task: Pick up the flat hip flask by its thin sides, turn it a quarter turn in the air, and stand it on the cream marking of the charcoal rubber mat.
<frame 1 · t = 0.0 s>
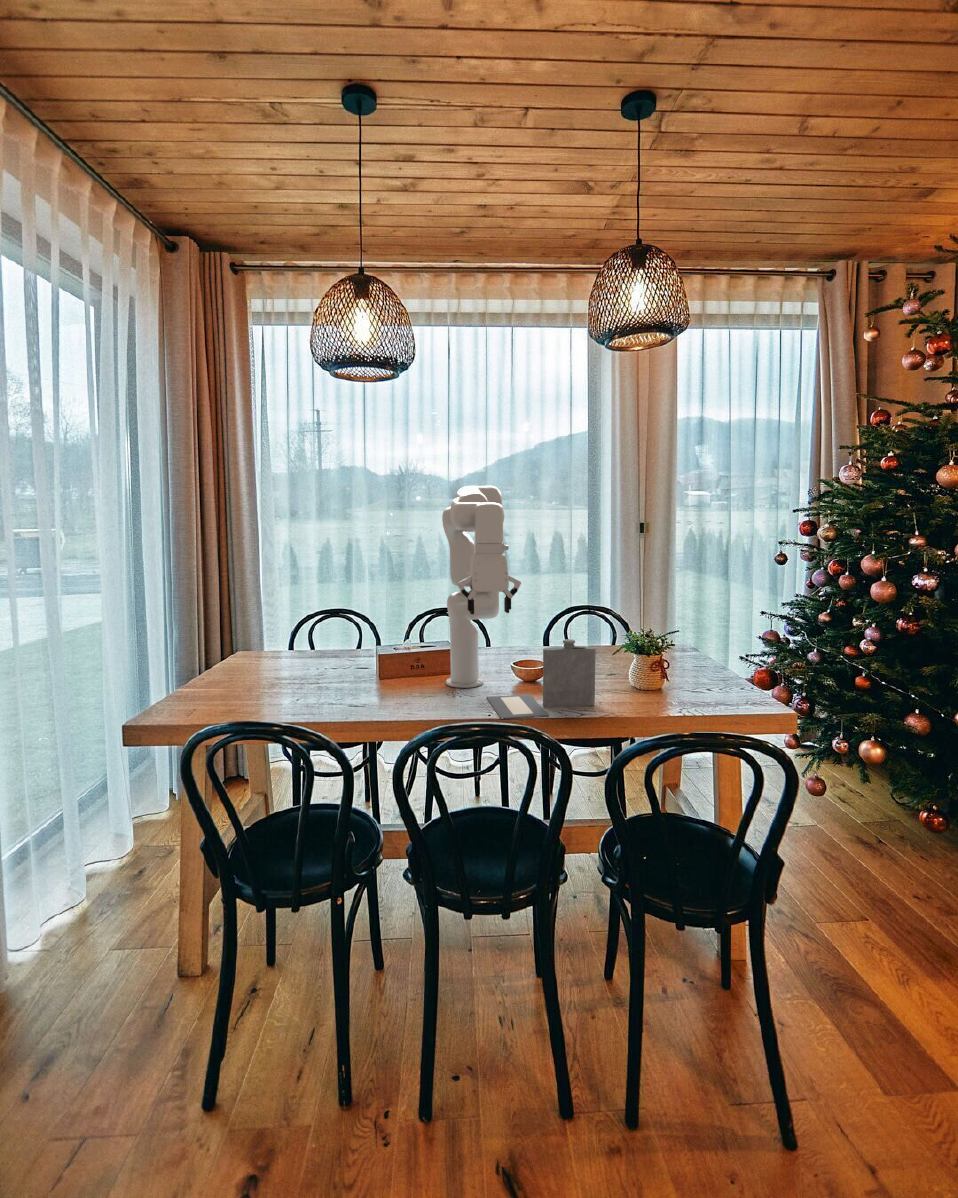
hand: (489, 613, 187), 31 cm above the table, tool pointing down, fingers open, 9 cm apart
mat: (516, 706, 207), on the table
hip flask: (568, 705, 209), on the table
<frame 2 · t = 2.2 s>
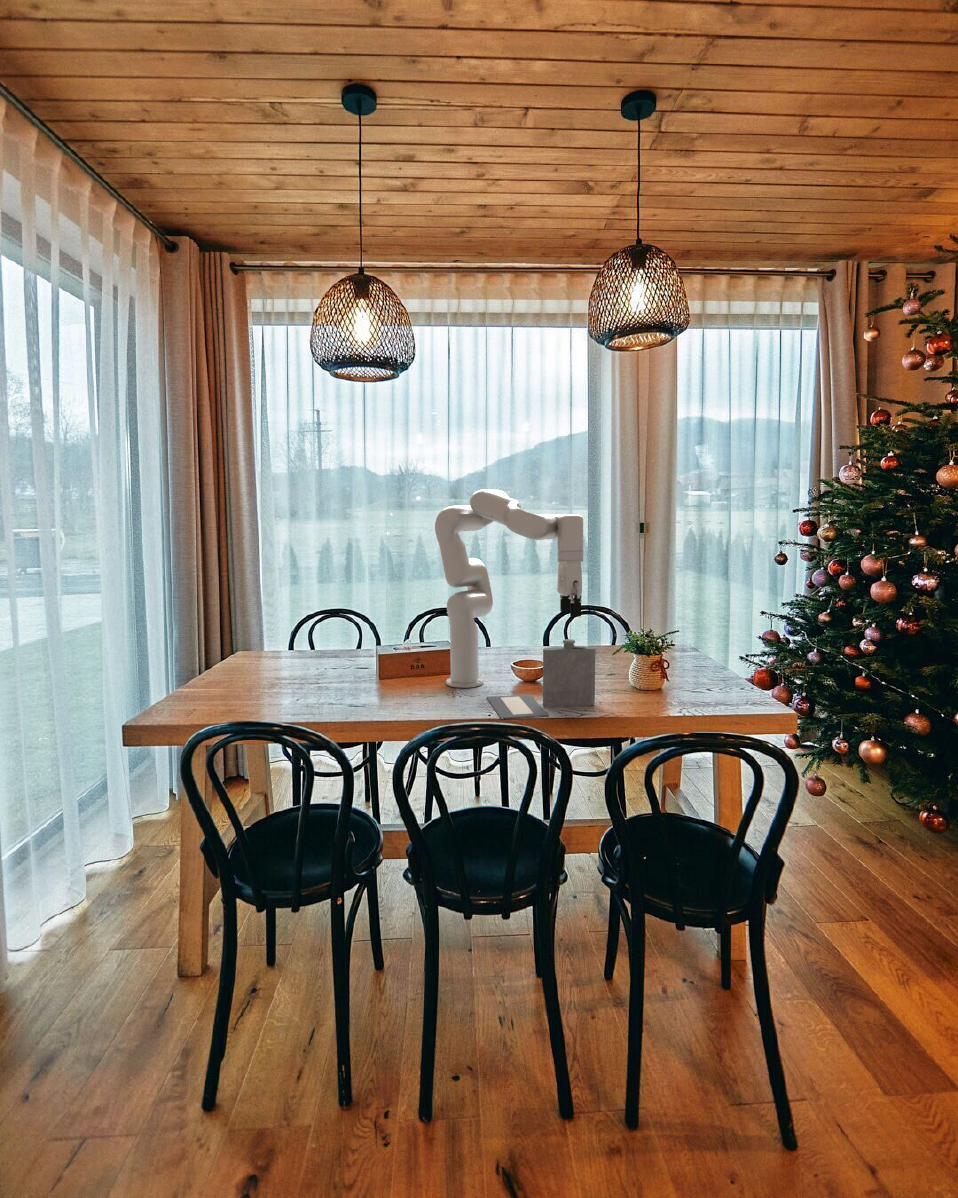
hand: (570, 614, 205), 28 cm above the table, tool pointing down, fingers open, 9 cm apart
nothing on the table moved.
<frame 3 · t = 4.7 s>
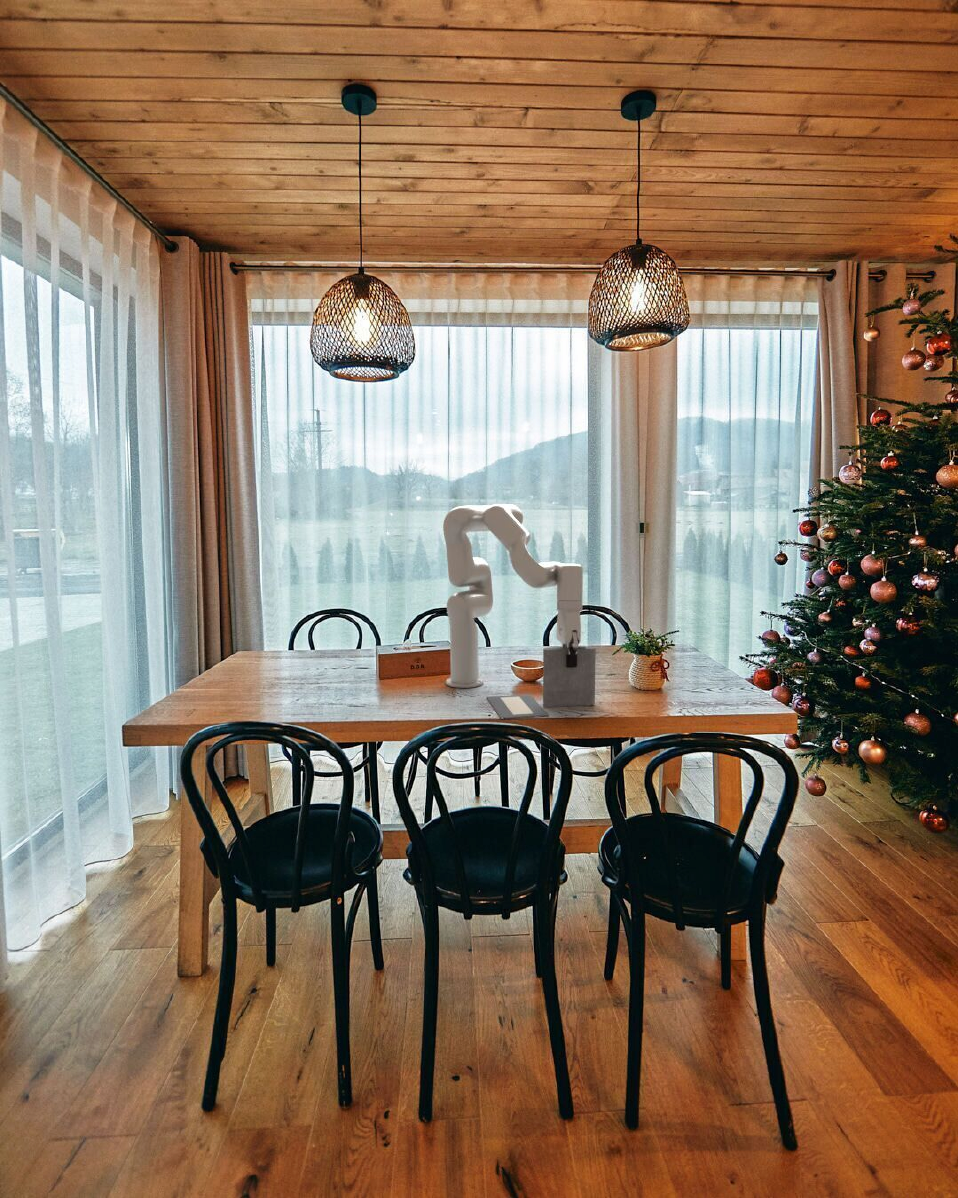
hand: (569, 664, 207), 12 cm above the table, tool pointing down, fingers closed on hip flask, 4 cm apart
hip flask: (568, 705, 209), on the table, touching gripper
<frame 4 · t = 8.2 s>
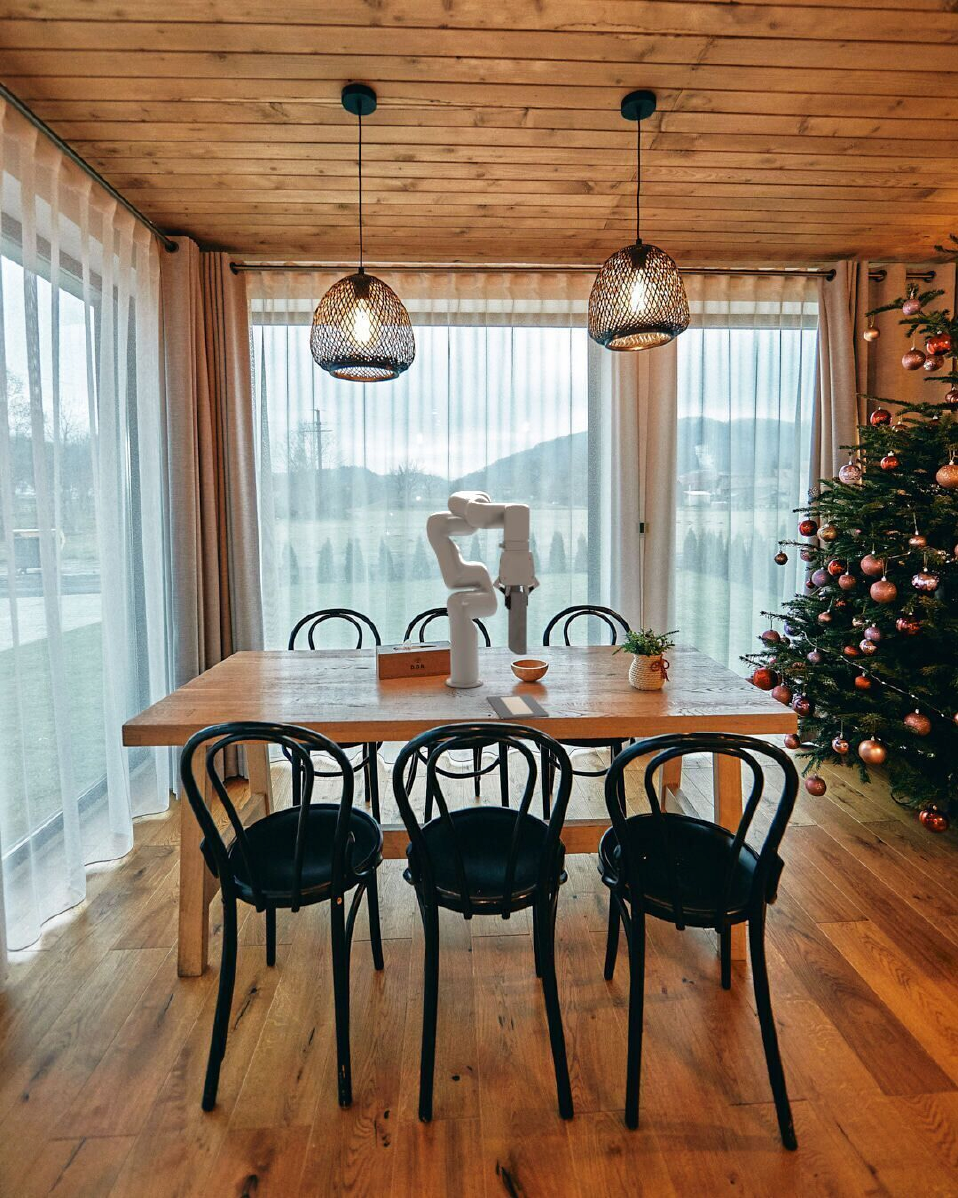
hand: (516, 608, 203), 30 cm above the table, tool pointing down, fingers closed on hip flask, 4 cm apart
hip flask: (515, 649, 205), point 17 cm above the table, touching gripper
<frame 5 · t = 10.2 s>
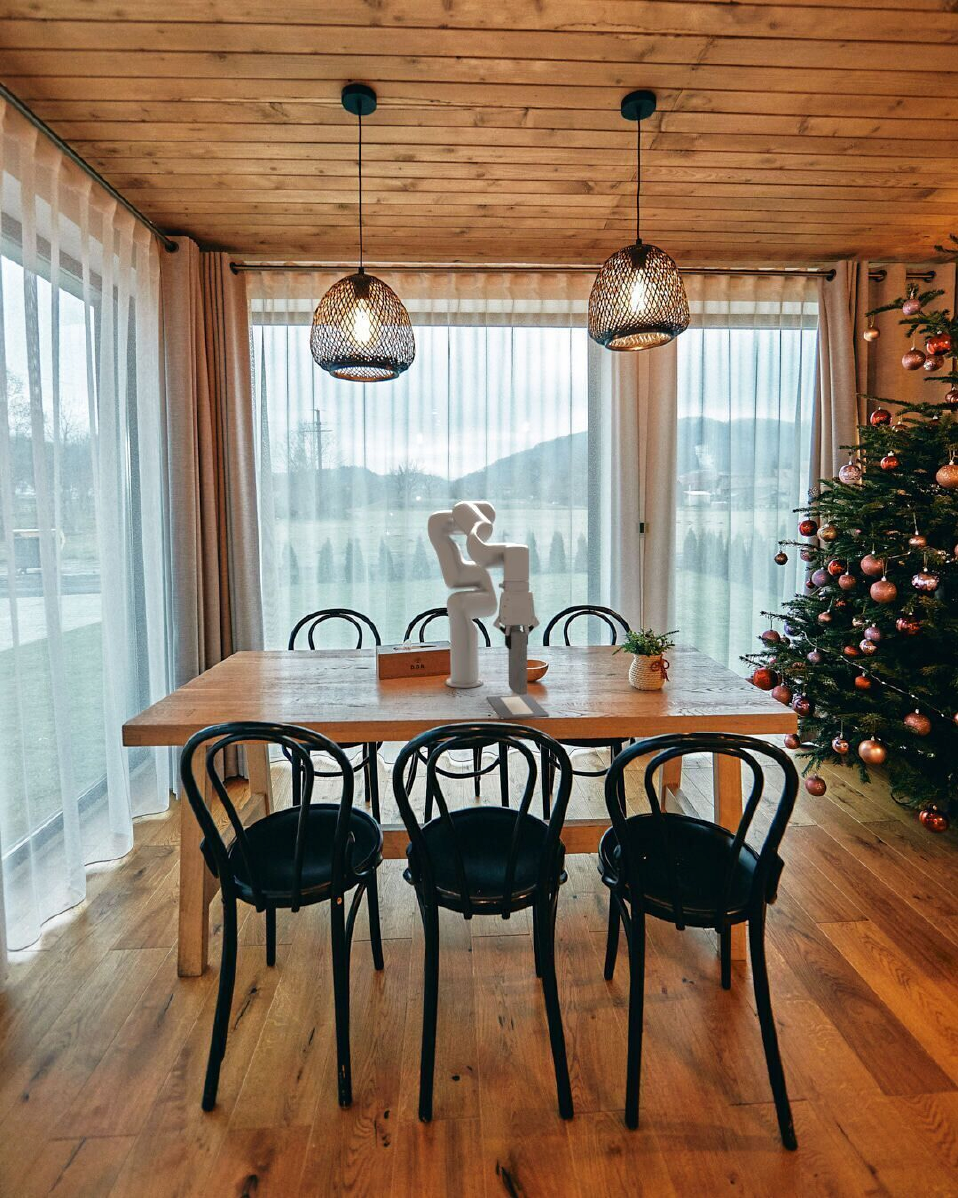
hand: (516, 647, 205), 18 cm above the table, tool pointing down, fingers closed on hip flask, 4 cm apart
hip flask: (516, 688, 206), point 6 cm above the table, touching gripper
when the fingers open (14 cm above the table, at t = 11.9 s): hip flask stays where it is, resting on mat.
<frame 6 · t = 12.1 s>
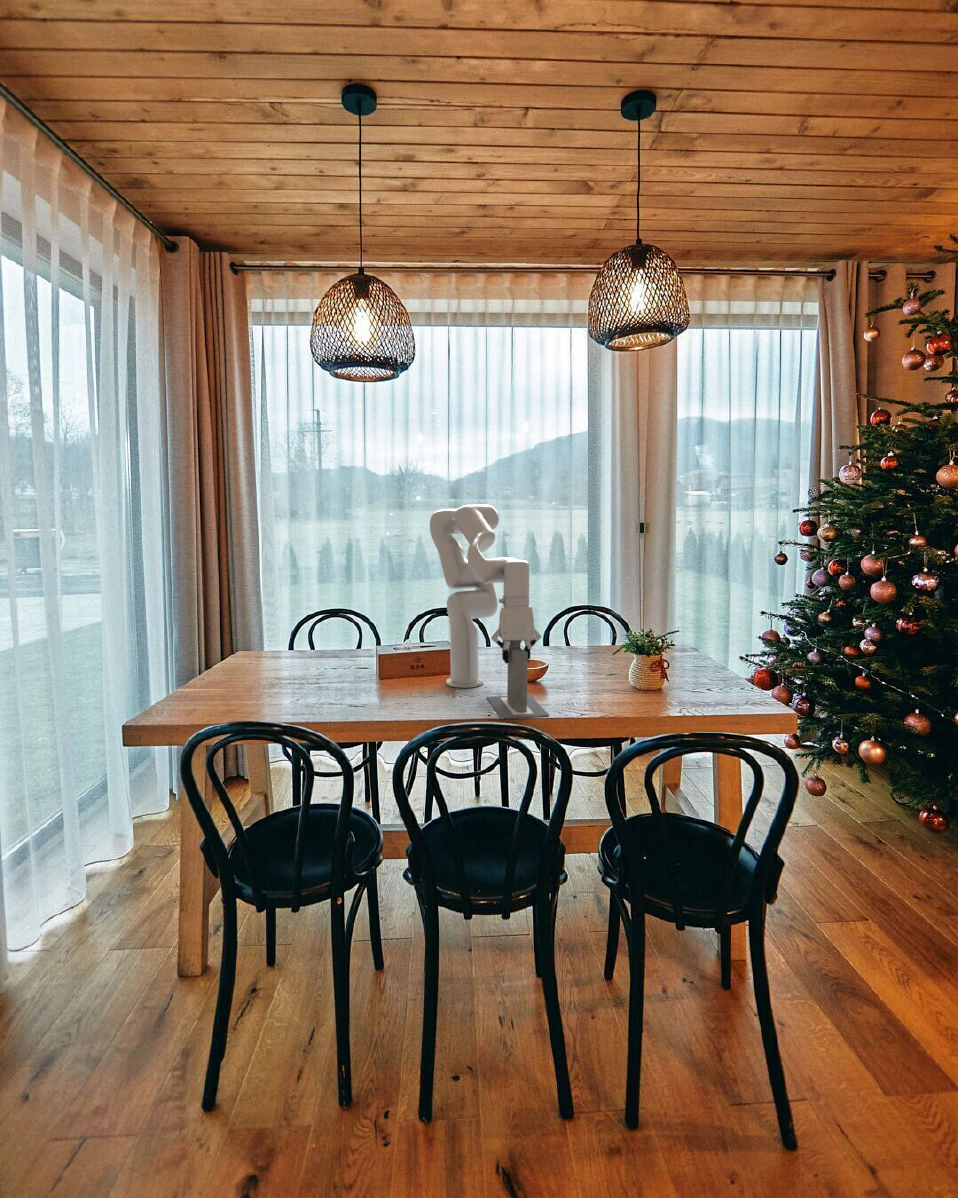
hand: (516, 661, 205), 14 cm above the table, tool pointing down, fingers open, 5 cm apart
hip flask: (515, 705, 207), resting on mat
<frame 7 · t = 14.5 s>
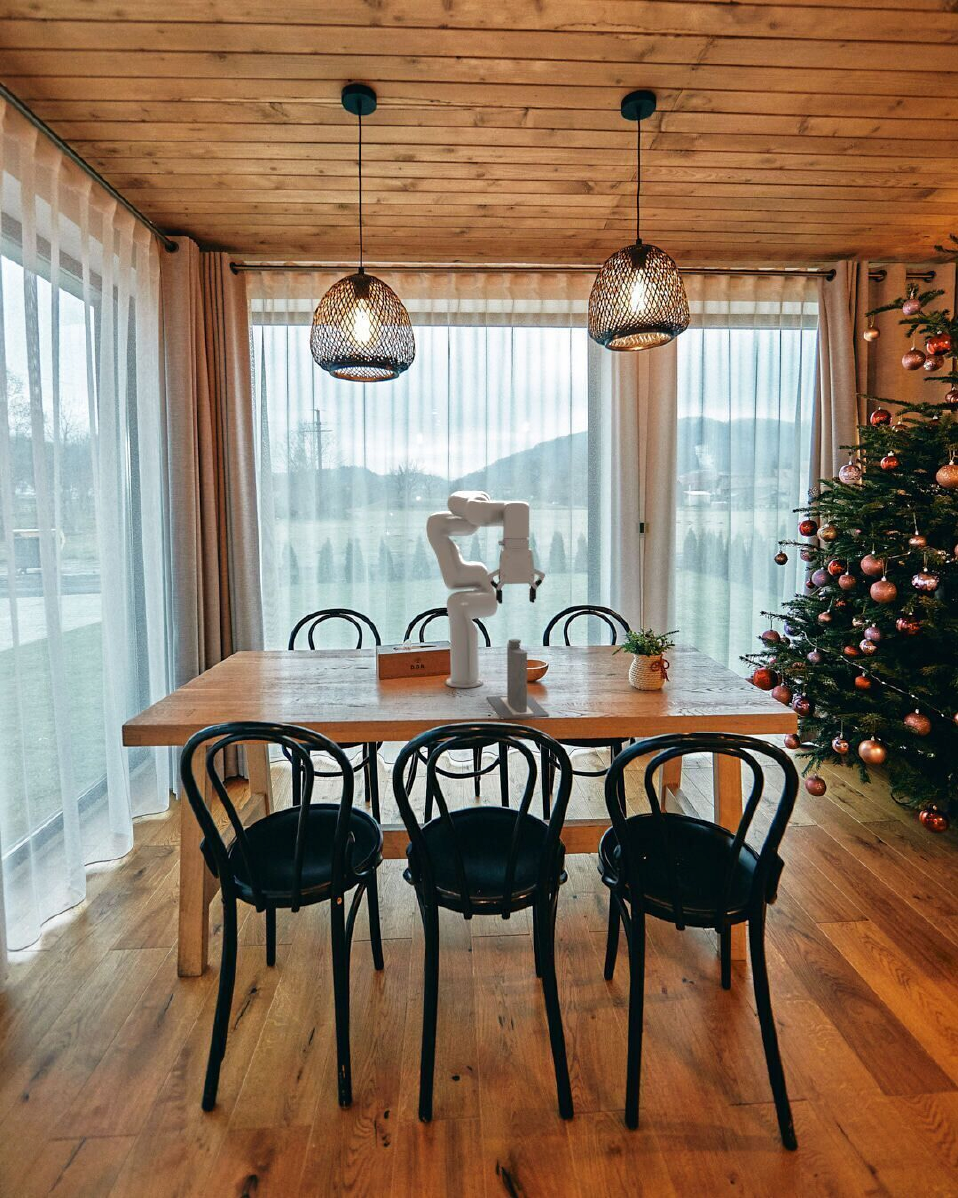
hand: (516, 602, 203), 32 cm above the table, tool pointing down, fingers open, 9 cm apart
nothing on the table moved.
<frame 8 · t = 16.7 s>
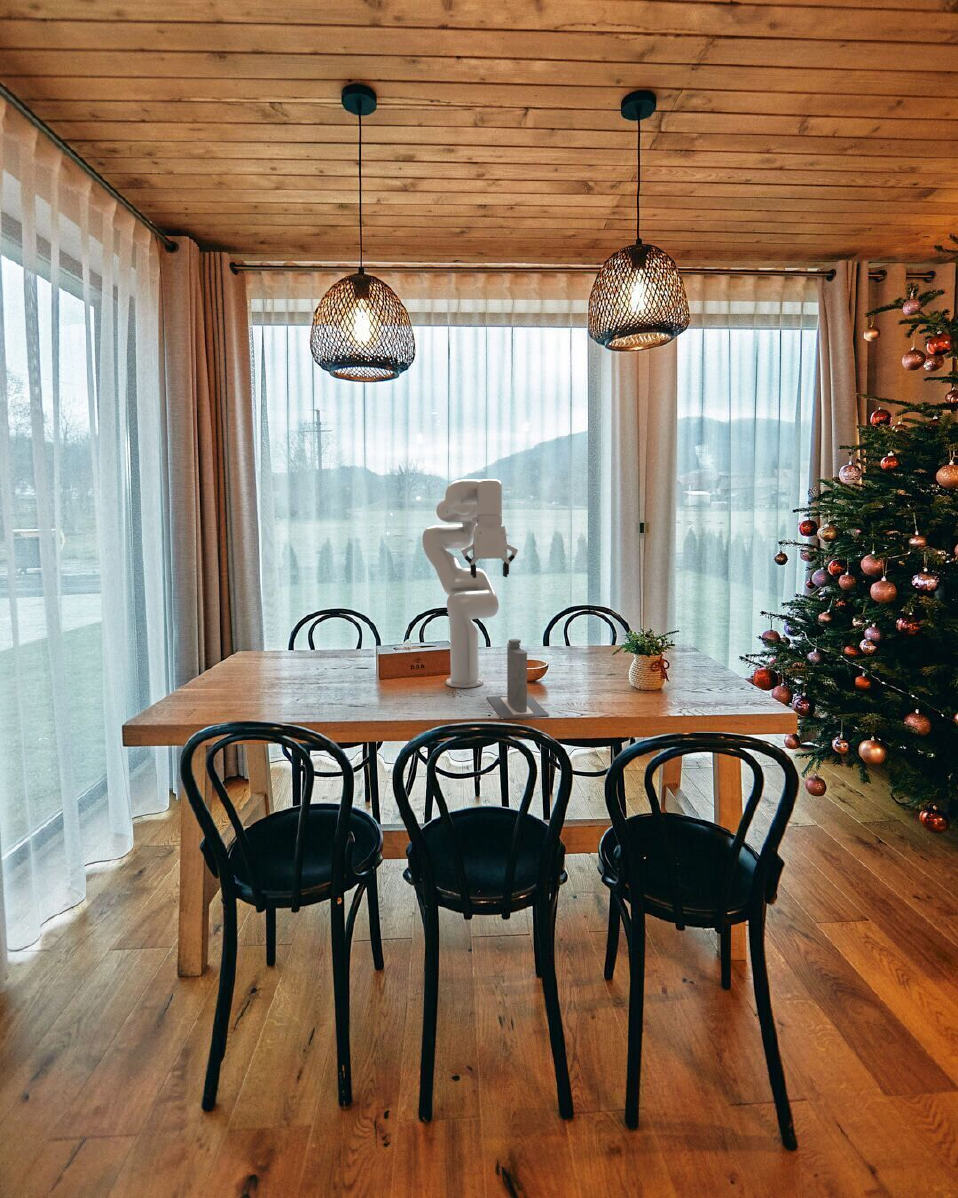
hand: (489, 577, 211), 38 cm above the table, tool pointing down, fingers open, 9 cm apart
nothing on the table moved.
at the end: hip flask inside the target area on the mat (0.3 cm from its centre), point 0.3 cm above the mat's base; hip flask tilted 0°; the gripper is holding nothing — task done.
